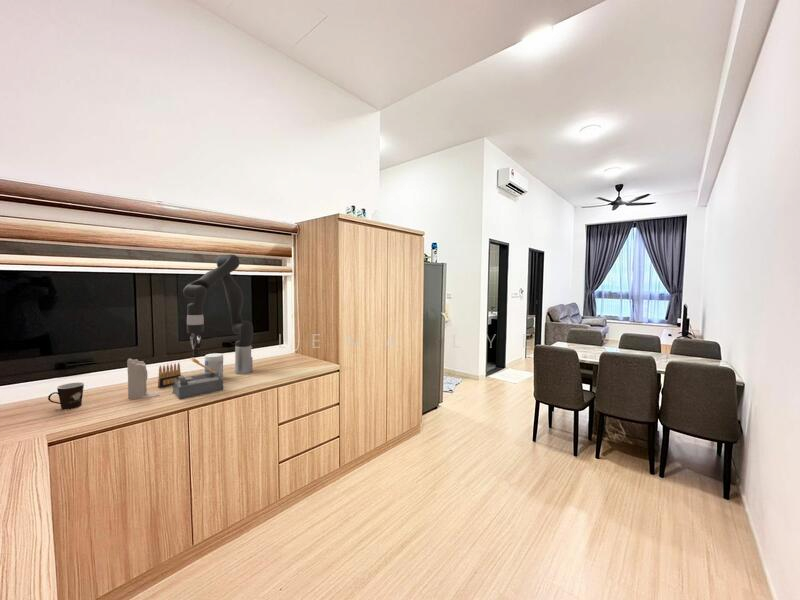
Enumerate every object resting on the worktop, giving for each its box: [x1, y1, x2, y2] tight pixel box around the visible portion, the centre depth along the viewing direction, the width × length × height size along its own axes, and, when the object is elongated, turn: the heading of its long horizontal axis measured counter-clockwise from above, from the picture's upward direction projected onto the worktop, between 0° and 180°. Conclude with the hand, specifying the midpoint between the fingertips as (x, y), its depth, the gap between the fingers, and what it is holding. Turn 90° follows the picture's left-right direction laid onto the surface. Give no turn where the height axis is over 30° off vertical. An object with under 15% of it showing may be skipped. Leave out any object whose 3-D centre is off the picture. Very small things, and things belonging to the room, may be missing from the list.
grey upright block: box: [126, 358, 163, 400], centre depth 164 cm, size 7×14×20 cm, turn 119°
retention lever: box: [190, 356, 216, 374], centre depth 174 cm, size 14×4×2 cm
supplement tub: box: [204, 352, 224, 379], centre depth 192 cm, size 10×10×15 cm
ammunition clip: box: [157, 362, 182, 389], centre depth 180 cm, size 11×2×12 cm, turn 145°
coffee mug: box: [47, 381, 85, 411], centre depth 147 cm, size 12×9×10 cm
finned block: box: [172, 370, 224, 400], centre depth 173 cm, size 20×14×9 cm
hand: (195, 355), depth 171 cm, fingers closed
